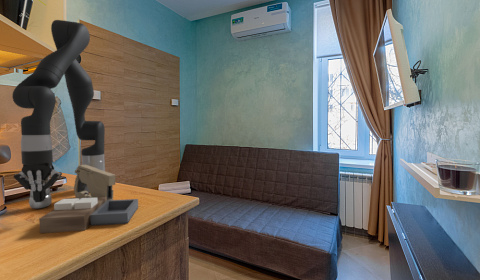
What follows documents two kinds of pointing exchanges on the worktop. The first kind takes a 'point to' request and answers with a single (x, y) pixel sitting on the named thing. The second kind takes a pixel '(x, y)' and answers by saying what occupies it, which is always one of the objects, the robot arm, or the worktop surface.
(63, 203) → the tile
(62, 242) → the worktop surface
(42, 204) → the plastic bottle
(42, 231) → the brown wooden block
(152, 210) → the worktop surface
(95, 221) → the box
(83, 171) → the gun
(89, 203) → the tile
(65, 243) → the worktop surface
